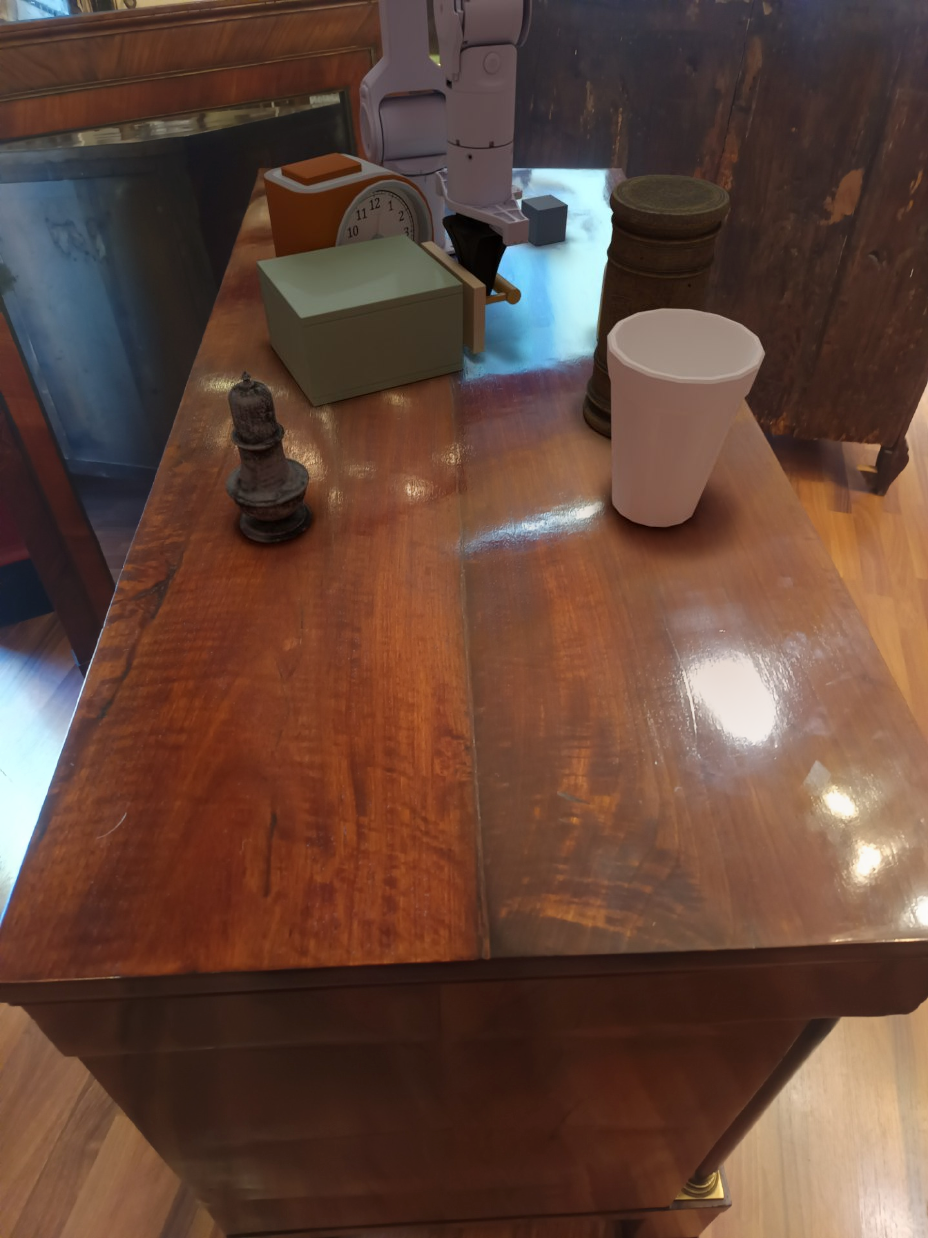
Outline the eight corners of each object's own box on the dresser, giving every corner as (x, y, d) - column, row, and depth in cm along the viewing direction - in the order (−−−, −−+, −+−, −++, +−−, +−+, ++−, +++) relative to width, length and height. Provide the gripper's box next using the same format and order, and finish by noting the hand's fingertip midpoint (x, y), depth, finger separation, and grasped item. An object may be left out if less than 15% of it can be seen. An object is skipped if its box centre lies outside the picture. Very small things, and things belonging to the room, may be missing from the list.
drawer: (476, 294, 86) (477, 231, 81) (530, 340, 78) (534, 274, 74) (307, 331, 80) (298, 266, 75) (349, 385, 73) (342, 316, 68)
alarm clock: (323, 335, 81) (304, 187, 71) (276, 306, 86) (252, 163, 76) (437, 292, 88) (434, 152, 78) (389, 267, 92) (380, 132, 83)
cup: (740, 541, 59) (792, 374, 50) (605, 554, 58) (632, 387, 49) (693, 461, 66) (731, 302, 57) (572, 472, 65) (590, 312, 56)
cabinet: (408, 314, 84) (404, 233, 78) (463, 369, 76) (463, 283, 71) (271, 345, 80) (255, 261, 74) (313, 407, 72) (300, 317, 66)
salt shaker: (274, 556, 58) (241, 405, 49) (218, 524, 60) (177, 375, 52) (332, 514, 61) (310, 366, 53) (277, 486, 64) (247, 340, 55)
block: (519, 234, 99) (521, 199, 96) (548, 228, 101) (550, 193, 98) (536, 246, 97) (538, 210, 94) (565, 240, 98) (568, 204, 95)
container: (686, 450, 67) (739, 219, 54) (577, 438, 68) (602, 209, 55) (688, 394, 73) (735, 174, 60) (587, 384, 74) (612, 167, 62)
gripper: (565, 155, 66) (552, 318, 76) (482, 111, 75) (480, 261, 85) (487, 168, 64) (484, 333, 74) (412, 121, 73) (418, 273, 83)
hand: (478, 296), depth 79 cm, fingers closed
